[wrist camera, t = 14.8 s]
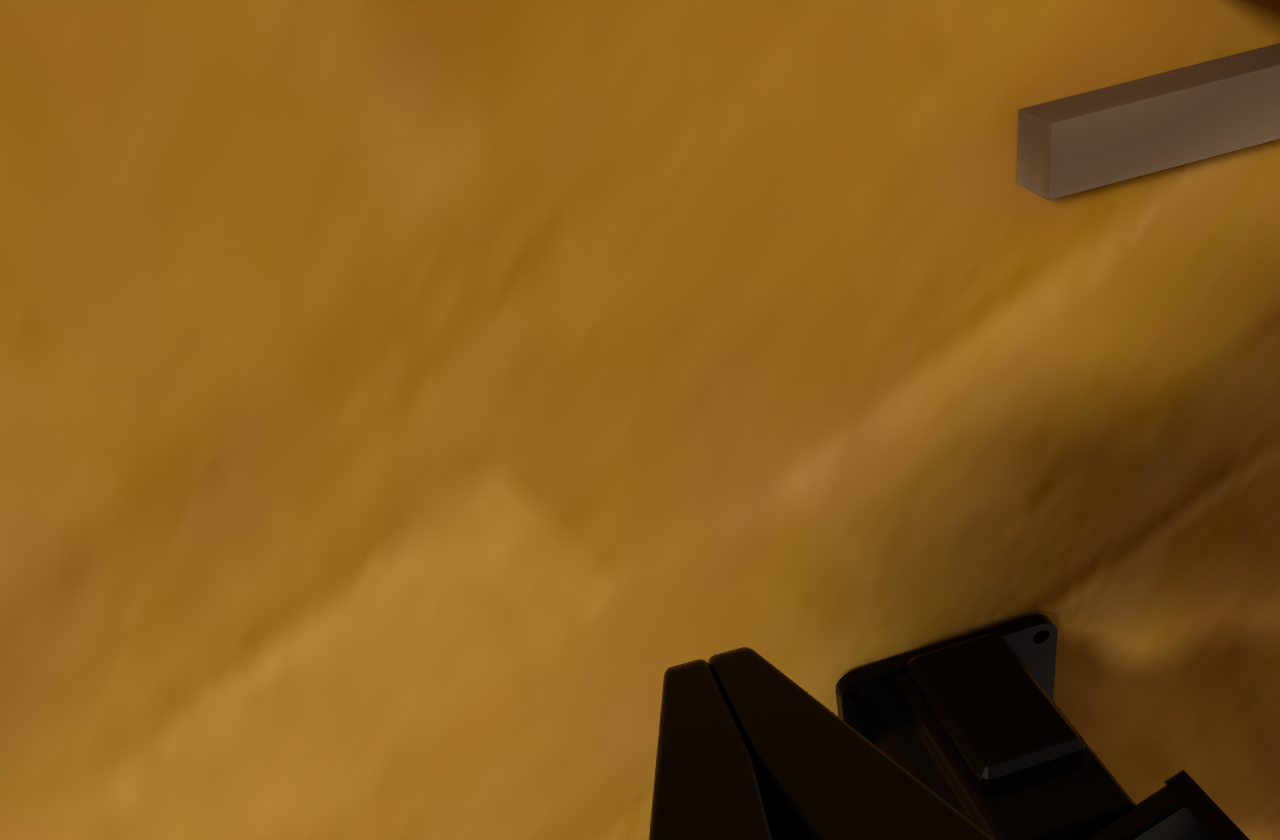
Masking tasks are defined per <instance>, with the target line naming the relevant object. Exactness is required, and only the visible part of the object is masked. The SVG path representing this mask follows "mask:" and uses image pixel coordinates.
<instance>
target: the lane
mask: <svg viewBox="0 0 1280 840" xmlns="http://www.w3.org/2000/svg"><path fill="white" fill-rule="evenodd" d="M1277 139H1280V43H1279V44H1275V45H1271V46H1267V47H1263V48H1259V49H1255V50H1251V51H1248V52H1244V53H1240V54H1236V55H1232V56H1228V57H1224V58H1220V59H1216V60H1212V61H1208V62H1204V63H1200V64H1196V65H1193V66H1189V67H1185V68H1181V69H1177V70H1173V71H1169V72H1165V73H1161V74H1157V75H1153V76H1149V77H1145V78H1141V79H1137V80H1134V81H1130V82H1126V83H1122V84H1118V85H1114V86H1110V87H1106V88H1102V89H1098V90H1094V91H1090V92H1086V93H1082V94H1079V95H1075V96H1071V97H1067V98H1063V99H1059V100H1055V101H1051V102H1047V103H1043V104H1039V105H1035V106H1031V107H1027V108H1024V109H1020V110H1019V121H1018V159H1017V184H1019V185H1021V186H1022V187H1024V188H1026V189H1028V190H1030V191H1032V192H1034V193H1036V194H1038V195H1040V196H1042V197H1043V198H1045V199H1047V200H1052V199H1056V198H1059V197H1063V196H1067V195H1071V194H1074V193H1078V192H1082V191H1086V190H1089V189H1093V188H1097V187H1101V186H1104V185H1108V184H1112V183H1116V182H1119V181H1123V180H1127V179H1131V178H1134V177H1138V176H1142V175H1146V174H1149V173H1153V172H1157V171H1161V170H1165V169H1168V168H1172V167H1176V166H1180V165H1183V164H1187V163H1191V162H1195V161H1198V160H1202V159H1206V158H1210V157H1213V156H1217V155H1221V154H1225V153H1228V152H1232V151H1236V150H1240V149H1243V148H1247V147H1251V146H1255V145H1259V144H1262V143H1266V142H1270V141H1274V140H1277Z"/></svg>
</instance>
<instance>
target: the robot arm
mask: <svg viewBox="0 0 1280 840" xmlns="http://www.w3.org/2000/svg"><path fill="white" fill-rule="evenodd" d="M1056 643H1057V628H1056V626H1055V625H1054V624H1053V623H1052V622H1051V621H1050V620H1049V618H1048V617H1047V616H1045V615H1043V614H1035V615H1031V616H1028V617H1025V618H1022V619H1019V620H1015V621H1012V622H1009V623H1006V624H1003V625H999V626H996V627H993V628H990V629H987V630H984V631H980V632H977V633H974V634H971V635H968V636H964V637H961V638H958V639H955V640H952V641H949V642H945V643H942V644H939V645H936V646H933V647H929V648H926V649H923V650H920V651H917V652H914V653H910V654H907V655H904V656H901V657H898V658H894V659H891V660H888V661H885V662H882V663H879V664H875V665H872V666H869V667H866V668H863V669H859V670H856V671H853V672H850V673H848V674H846V675H844V676H843V677H842V678H841V679H840V680H839V682H838V683H837V685H836V697H837V707H838V716H836V715H835V714H834V713H833V712H831V711H830V710H829V709H828V708H826V707H825V706H824V705H822V704H821V703H820V702H819V701H817V700H816V699H815V698H814V697H812V696H811V695H810V694H808V693H807V692H806V691H805V690H803V689H802V688H801V687H800V686H798V685H797V684H796V683H794V682H793V681H792V680H791V679H789V678H788V677H787V676H786V675H784V674H783V673H782V672H780V671H779V670H778V669H777V668H775V667H774V666H773V665H772V664H770V663H769V662H768V661H767V660H765V659H764V658H763V657H761V656H760V655H759V654H758V653H756V652H755V651H754V650H752V649H750V648H747V647H742V648H738V649H735V650H731V651H728V652H724V653H720V654H717V655H714V656H712V657H711V658H710V659H709V661H708V663H707V662H706V661H705V660H702V659H699V660H695V661H691V662H688V663H684V664H681V665H677V666H673V667H670V668H668V669H667V670H666V672H665V674H664V682H663V693H662V704H661V715H660V726H659V736H658V747H657V758H656V769H655V780H654V791H653V802H652V812H651V823H650V834H649V840H1249V839H1248V838H1247V837H1246V836H1245V834H1244V833H1243V832H1242V831H1241V830H1240V829H1239V828H1238V827H1237V826H1236V825H1235V824H1234V823H1233V822H1232V821H1231V820H1230V819H1229V817H1228V816H1227V815H1226V814H1225V813H1224V812H1223V811H1222V810H1221V809H1220V808H1219V807H1218V806H1217V805H1216V804H1215V803H1214V802H1213V800H1212V799H1211V798H1210V797H1209V796H1208V795H1207V794H1206V793H1205V792H1204V791H1203V790H1202V789H1201V788H1200V787H1199V786H1198V785H1197V784H1196V782H1195V781H1194V780H1193V779H1192V778H1191V777H1190V776H1189V775H1188V774H1187V773H1186V772H1185V771H1184V770H1182V771H1180V772H1179V773H1177V774H1175V775H1174V776H1172V777H1171V778H1169V779H1168V780H1166V781H1165V784H1166V786H1165V787H1163V788H1162V789H1160V790H1159V791H1157V792H1156V793H1154V794H1153V795H1151V796H1150V797H1148V798H1146V799H1145V800H1143V801H1142V802H1140V803H1139V804H1137V805H1136V804H1135V803H1134V802H1133V801H1132V799H1131V798H1130V797H1129V796H1128V794H1127V793H1126V792H1125V791H1124V789H1123V788H1122V787H1121V786H1120V784H1119V783H1118V782H1117V781H1116V779H1115V778H1114V777H1113V776H1112V774H1111V773H1110V772H1109V771H1108V769H1107V768H1106V767H1105V766H1104V764H1103V763H1102V762H1101V761H1100V759H1099V758H1098V757H1097V756H1096V754H1095V753H1094V752H1093V751H1092V749H1091V748H1090V747H1089V746H1088V744H1087V743H1086V742H1085V741H1084V739H1083V737H1082V736H1081V735H1080V734H1079V732H1078V731H1077V730H1076V729H1075V727H1074V726H1073V725H1072V724H1071V722H1070V721H1069V720H1068V719H1067V717H1066V716H1065V715H1064V714H1063V712H1062V711H1061V710H1060V709H1059V707H1058V706H1057V705H1056V704H1055V702H1054V701H1053V690H1054V674H1055V659H1056Z"/></svg>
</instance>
